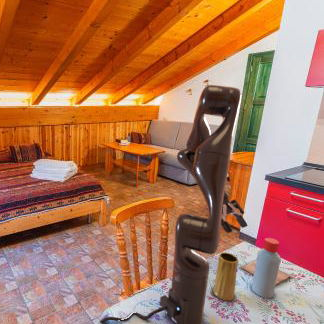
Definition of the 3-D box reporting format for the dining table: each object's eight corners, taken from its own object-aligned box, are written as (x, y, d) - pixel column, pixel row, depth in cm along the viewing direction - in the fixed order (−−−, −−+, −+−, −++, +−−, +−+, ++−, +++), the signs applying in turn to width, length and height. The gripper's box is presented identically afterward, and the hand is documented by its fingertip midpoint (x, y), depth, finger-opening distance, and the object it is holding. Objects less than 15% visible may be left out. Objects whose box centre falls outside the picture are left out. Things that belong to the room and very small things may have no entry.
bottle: (266, 300, 81) (277, 249, 77) (247, 288, 86) (256, 239, 82) (277, 294, 84) (287, 244, 79) (258, 282, 89) (266, 235, 84)
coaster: (273, 286, 87) (273, 285, 87) (241, 268, 96) (241, 267, 96) (290, 277, 91) (290, 276, 91) (258, 260, 101) (258, 259, 101)
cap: (273, 253, 79) (275, 245, 78) (260, 248, 82) (262, 239, 81) (279, 250, 80) (281, 242, 79) (267, 245, 83) (269, 236, 83)
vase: (213, 297, 83) (218, 259, 79) (212, 285, 88) (217, 249, 85) (234, 303, 80) (240, 265, 77) (233, 290, 85) (238, 254, 82)
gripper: (206, 188, 92) (233, 230, 84) (231, 182, 97) (258, 221, 90) (193, 197, 98) (217, 237, 90) (217, 191, 103) (241, 228, 96)
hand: (237, 229), depth 90 cm, fingers open, 8 cm apart
